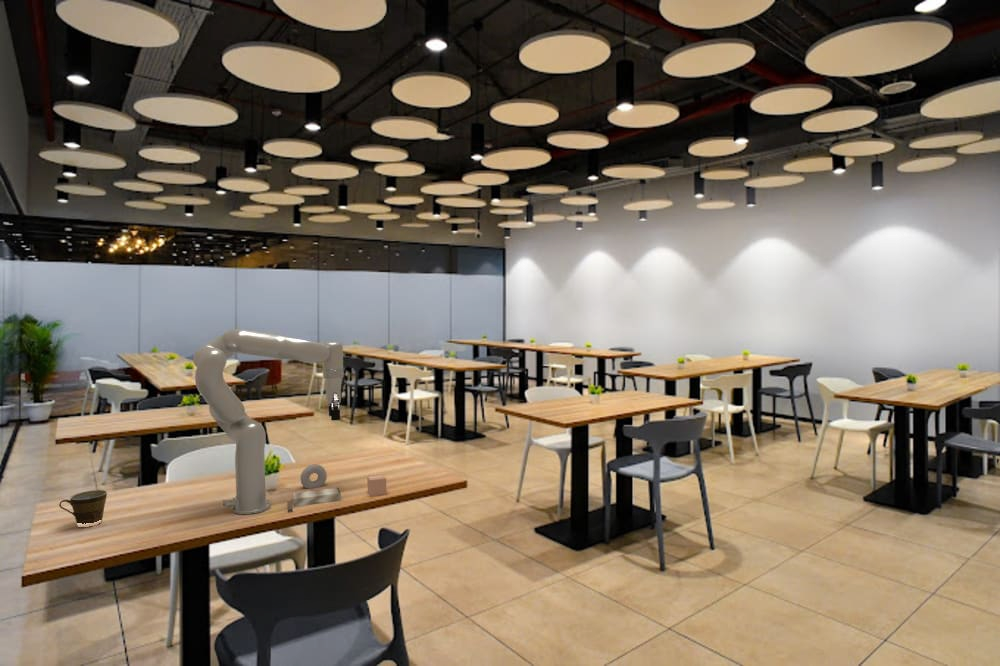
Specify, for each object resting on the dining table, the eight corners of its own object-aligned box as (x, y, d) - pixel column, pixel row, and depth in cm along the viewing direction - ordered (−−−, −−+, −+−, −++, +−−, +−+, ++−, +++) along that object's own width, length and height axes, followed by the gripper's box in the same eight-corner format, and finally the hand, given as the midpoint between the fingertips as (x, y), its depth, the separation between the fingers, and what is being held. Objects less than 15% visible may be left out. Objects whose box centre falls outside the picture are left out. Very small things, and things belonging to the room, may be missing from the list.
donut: (301, 493, 223) (301, 467, 222) (299, 490, 226) (299, 465, 225) (328, 488, 228) (327, 463, 228) (325, 486, 231) (325, 461, 231)
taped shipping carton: (370, 496, 214) (369, 480, 214) (367, 491, 219) (367, 475, 219) (386, 494, 216) (386, 478, 216) (383, 489, 222) (383, 473, 221)
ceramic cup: (110, 517, 200) (108, 488, 199) (105, 526, 191) (104, 496, 190) (63, 523, 194) (62, 494, 193) (57, 534, 185) (55, 503, 184)
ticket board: (288, 512, 202) (287, 500, 202) (287, 503, 211) (287, 492, 211) (391, 498, 215) (391, 487, 215) (386, 491, 224) (386, 480, 224)
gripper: (321, 372, 231) (322, 414, 231) (325, 376, 215) (326, 422, 215) (340, 371, 233) (342, 413, 234) (345, 375, 217) (347, 421, 218)
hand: (334, 417), depth 225 cm, fingers open, 9 cm apart
